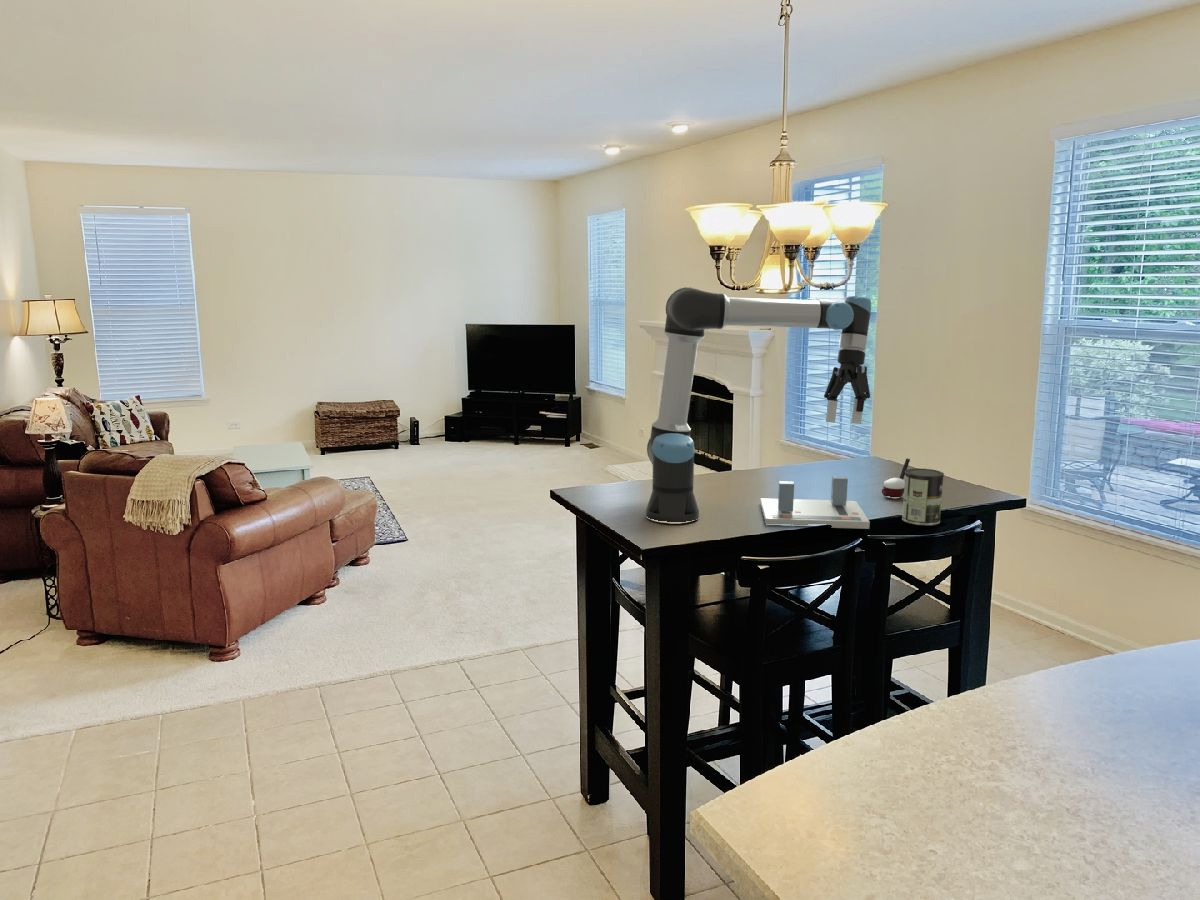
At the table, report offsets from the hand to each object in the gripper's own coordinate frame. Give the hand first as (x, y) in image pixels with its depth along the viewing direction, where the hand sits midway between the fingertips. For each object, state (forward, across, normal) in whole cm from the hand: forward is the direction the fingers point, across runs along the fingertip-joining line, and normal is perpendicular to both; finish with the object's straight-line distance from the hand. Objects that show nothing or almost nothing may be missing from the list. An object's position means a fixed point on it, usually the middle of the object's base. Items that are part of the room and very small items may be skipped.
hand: (842, 423), depth 253 cm
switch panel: (+28, -1, +7) cm, 29 cm away
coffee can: (+25, -13, -20) cm, 35 cm away
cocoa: (+20, +10, -28) cm, 36 cm away
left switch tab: (+27, -1, +16) cm, 31 cm away
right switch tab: (+24, 0, -2) cm, 24 cm away
